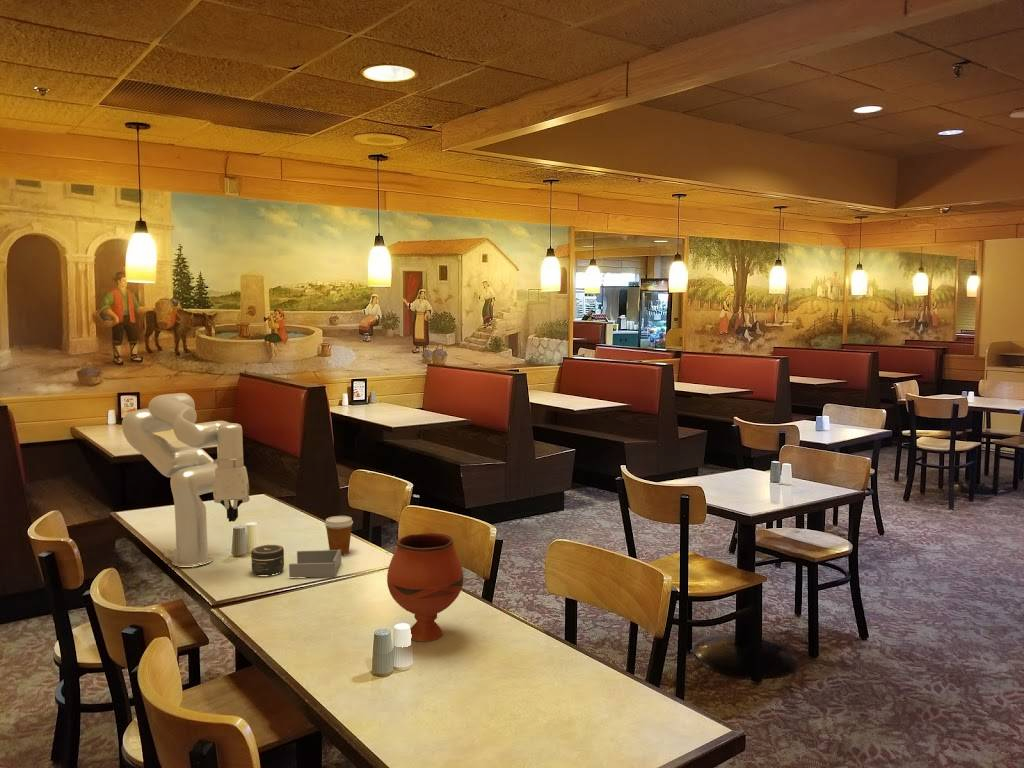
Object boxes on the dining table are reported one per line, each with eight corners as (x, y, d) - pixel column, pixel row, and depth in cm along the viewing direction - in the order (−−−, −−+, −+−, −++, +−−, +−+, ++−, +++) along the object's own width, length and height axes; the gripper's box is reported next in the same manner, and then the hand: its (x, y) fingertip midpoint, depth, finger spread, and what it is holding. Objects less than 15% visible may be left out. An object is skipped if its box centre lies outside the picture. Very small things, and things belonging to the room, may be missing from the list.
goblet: (474, 625, 209) (474, 533, 206) (444, 655, 191) (443, 554, 188) (409, 616, 215) (408, 526, 213) (374, 644, 197) (372, 546, 195)
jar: (274, 578, 246) (274, 554, 245) (245, 576, 248) (244, 552, 247) (290, 568, 256) (289, 545, 255) (261, 566, 258) (261, 543, 257)
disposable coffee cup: (350, 557, 266) (349, 522, 265) (322, 557, 267) (321, 522, 265) (356, 549, 276) (355, 515, 275) (329, 549, 276) (328, 515, 275)
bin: (289, 578, 245) (289, 563, 245) (297, 564, 259) (297, 549, 259) (335, 577, 247) (334, 561, 246) (341, 563, 260) (340, 548, 260)
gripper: (202, 465, 243) (204, 524, 245) (252, 464, 244) (254, 523, 246) (209, 461, 251) (211, 518, 252) (258, 460, 252) (259, 517, 254)
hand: (232, 520), depth 249 cm, fingers closed
